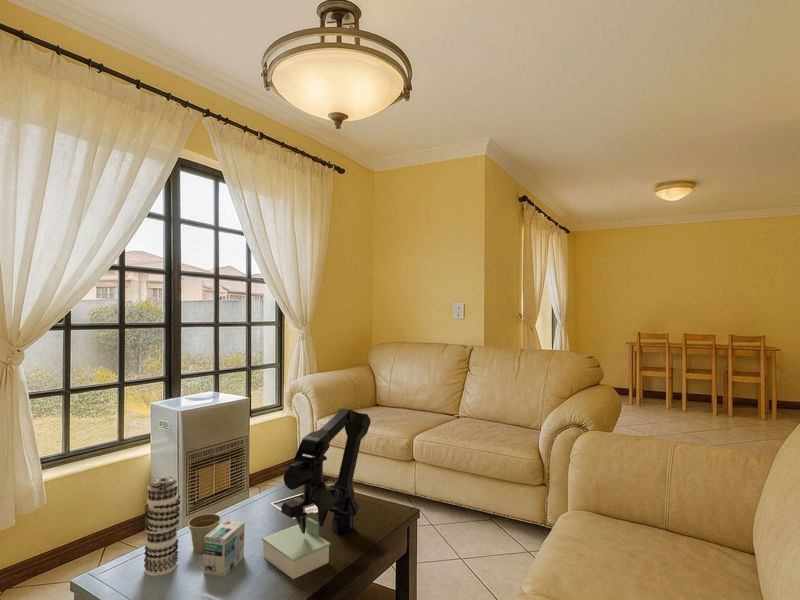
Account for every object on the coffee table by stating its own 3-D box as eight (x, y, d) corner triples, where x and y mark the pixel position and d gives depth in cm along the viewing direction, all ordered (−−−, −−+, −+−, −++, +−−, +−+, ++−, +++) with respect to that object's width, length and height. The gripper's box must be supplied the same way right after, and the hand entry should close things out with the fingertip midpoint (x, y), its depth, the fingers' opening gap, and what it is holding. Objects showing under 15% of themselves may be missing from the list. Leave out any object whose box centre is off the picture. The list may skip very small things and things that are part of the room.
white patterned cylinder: (186, 561, 135) (188, 475, 136) (163, 579, 126) (165, 487, 127) (159, 556, 138) (161, 472, 138) (135, 574, 128) (137, 483, 129)
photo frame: (295, 518, 162) (270, 502, 175) (294, 522, 162) (270, 505, 175) (329, 506, 172) (303, 492, 185) (329, 510, 172) (303, 495, 185)
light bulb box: (224, 578, 127) (225, 539, 127) (202, 575, 128) (203, 536, 129) (245, 558, 137) (245, 521, 138) (224, 555, 139) (225, 519, 139)
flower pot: (195, 560, 136) (196, 530, 136) (182, 548, 142) (182, 520, 143) (225, 548, 143) (226, 520, 143) (211, 537, 149) (212, 510, 149)
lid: (298, 528, 146) (298, 511, 147) (330, 548, 135) (330, 529, 135) (262, 542, 137) (262, 524, 137) (293, 564, 126) (293, 544, 126)
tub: (297, 544, 146) (298, 526, 146) (328, 564, 135) (328, 545, 135) (263, 558, 137) (263, 540, 137) (293, 581, 126) (293, 561, 126)
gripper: (302, 494, 128) (301, 551, 128) (353, 477, 142) (353, 528, 141) (280, 483, 136) (279, 536, 136) (331, 468, 149) (330, 516, 149)
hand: (312, 529), depth 140 cm, fingers open, 6 cm apart
